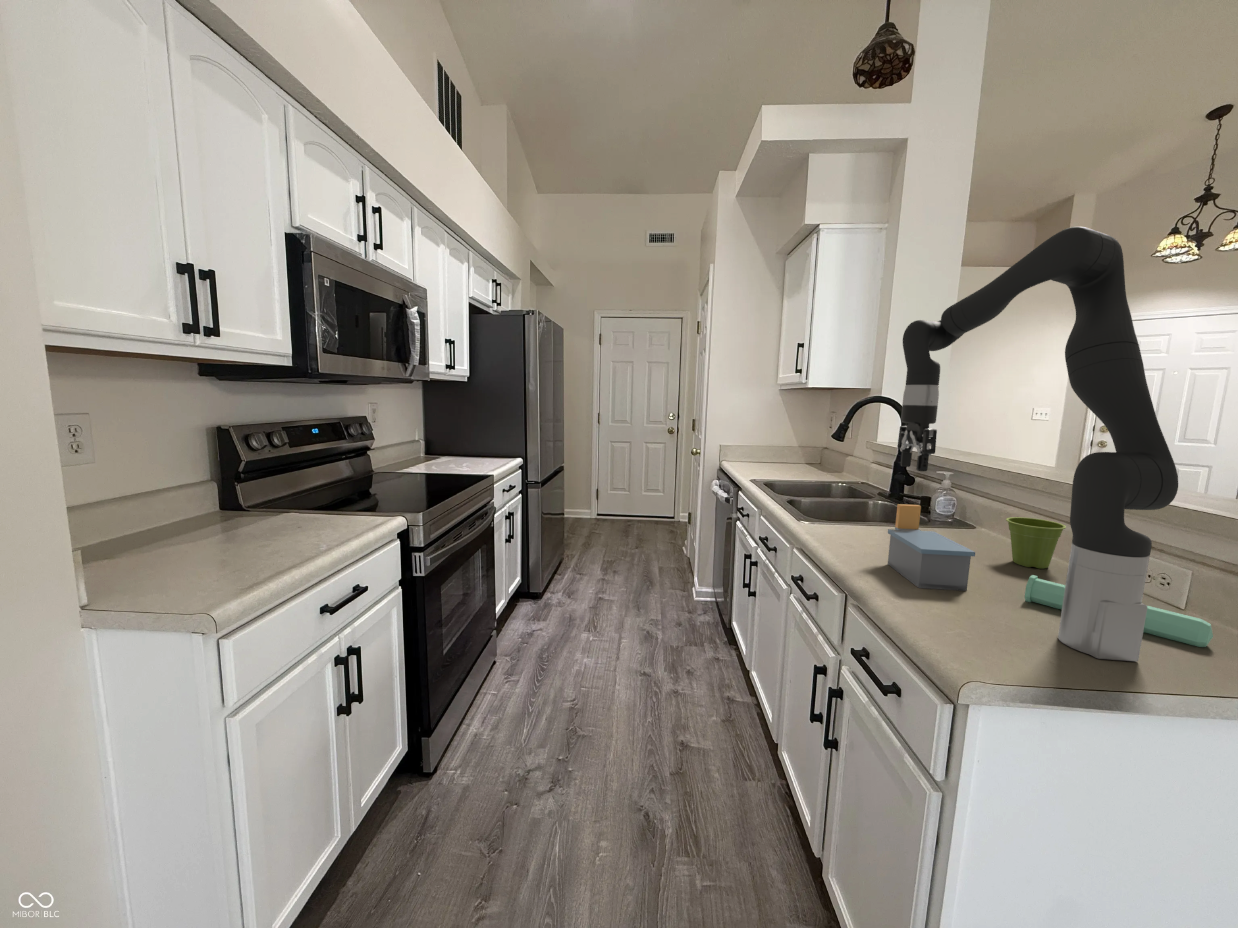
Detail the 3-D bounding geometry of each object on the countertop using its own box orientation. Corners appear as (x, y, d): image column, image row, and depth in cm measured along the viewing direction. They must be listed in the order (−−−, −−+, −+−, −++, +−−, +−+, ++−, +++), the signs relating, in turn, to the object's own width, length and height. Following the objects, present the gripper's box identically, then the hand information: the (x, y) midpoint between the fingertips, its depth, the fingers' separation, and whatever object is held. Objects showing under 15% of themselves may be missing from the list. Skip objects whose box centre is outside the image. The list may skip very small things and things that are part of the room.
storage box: (966, 590, 108) (970, 555, 107) (918, 587, 109) (922, 552, 108) (929, 566, 124) (932, 535, 123) (887, 564, 125) (890, 533, 124)
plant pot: (1007, 554, 136) (1012, 514, 135) (1064, 566, 127) (1070, 523, 126) (995, 562, 129) (1000, 520, 127) (1054, 575, 120) (1061, 530, 118)
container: (1218, 613, 85) (1033, 569, 104) (1213, 633, 82) (1024, 584, 101) (1212, 639, 87) (1032, 591, 106) (1207, 660, 84) (1024, 607, 103)
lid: (974, 560, 107) (978, 524, 106) (920, 557, 108) (924, 522, 107) (927, 536, 126) (930, 505, 125) (882, 533, 127) (885, 503, 126)
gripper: (952, 404, 114) (944, 473, 116) (921, 404, 128) (915, 465, 131) (918, 403, 115) (910, 472, 117) (891, 403, 129) (885, 464, 131)
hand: (913, 468), depth 124 cm, fingers open, 8 cm apart
